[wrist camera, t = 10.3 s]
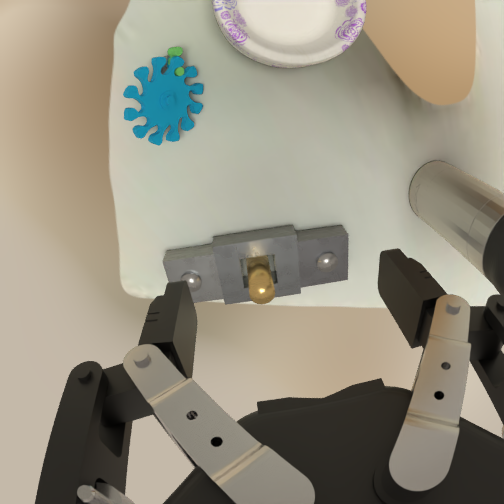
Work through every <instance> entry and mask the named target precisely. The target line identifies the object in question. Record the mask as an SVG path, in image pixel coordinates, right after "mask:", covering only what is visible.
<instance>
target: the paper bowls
mask: <svg viewBox="0 0 504 504" xmlns="http://www.w3.org/2000/svg"><path fill="white" fill-rule="evenodd" d="M212 4H213V9H214V14H215V17H216V20H217V23H218V25H219V27H220V29H221V31H222V33H223V35H224V36H225V38H226V39H227V40H228V42H229V43H230V44H231V45H232V46H233V47H235V48H236V49H237V50H238V51H239V52H241V53H242V54H244V55H245V56H247V57H249V58H251V59H253V60H254V61H257V62H260V63H263V64H265V65H269V66H274V67H281V68H297V67H305V66H309V65H313V64H317V63H322V62H325V61H328V60H330V59H332V58H334V57H336V56H338V55H339V54H341V53H343V52H344V51H345V50H346V49H347V48H349V47H350V46H351V45H352V44H353V43H354V41H355V40H356V39H357V37H358V36H359V33H360V32H361V30H362V28H363V25H364V21H365V15H366V0H212Z"/></svg>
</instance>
